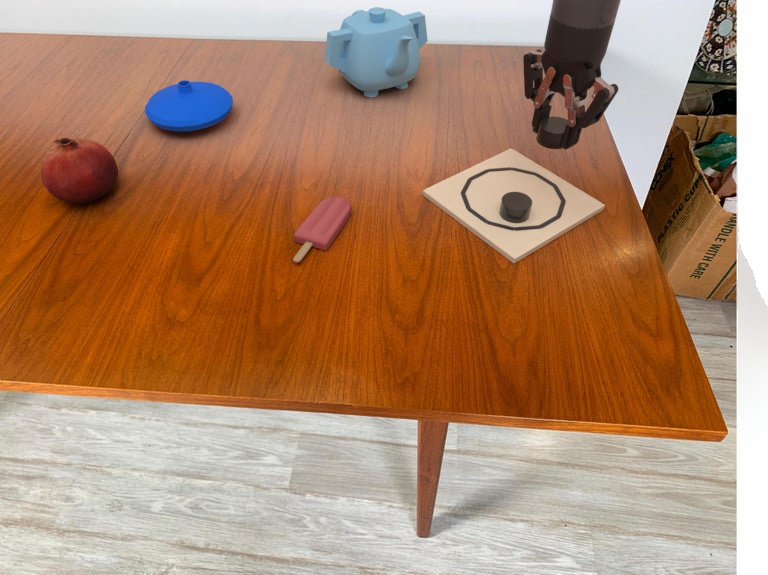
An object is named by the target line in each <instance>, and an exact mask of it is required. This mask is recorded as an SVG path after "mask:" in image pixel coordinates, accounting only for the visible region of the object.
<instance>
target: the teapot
mask: <svg viewBox="0 0 768 575" xmlns="http://www.w3.org/2000/svg"><path fill="white" fill-rule="evenodd" d="M428 42H429V41H428V32H427V22H426V15H425V14H423V13H422V12H421V11H416V12H411V13H407V14H404V15H402V14H401V13H400V12H398V11H396V10H394V9H392V8H384V7H379V6H376V7H371V8H369V9H368V11H367V10H366V11H365V10H362V9H357V10H356V11H354V12H353V13H352V14H351V15H349V16H347V17H344V18H343V19H342V23H341V26H340V28H339V29H337V30H335V29H334V30H330V31H327V32H326V44H325V54H324V55H325V56H324V62H326V64H327V65H328V66H330V67H332V68H334V69H336V70H338V71H339V73H340V74H341V76H342V77H343V78H344V79H345V80H346V82H348V83H349V84H350V85H352V86H353V87H354V88H356V89H358V90H360V91H362V92H363V96H364V97H367V98H377V97H378V96H379V91H381V90H385V89H390V88H394V87H395V88H396V89H398V90H405V89H407V88H408V87H409V84H408V82H410V81H412V80H413V79H415V78H416V76H417V75H418V73H419V70H420V68H421V54H420V50H421V49H422V48H423V47H424V46H425V45H426V44H427V43H428Z"/></svg>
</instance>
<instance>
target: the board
mask: <svg viewBox="0 0 768 575" xmlns="http://www.w3.org/2000/svg"><path fill="white" fill-rule="evenodd" d="M509 192H521V193H524V194H526V195H528V196H529V197H530V198H531V200H532V207H531V211H530V216H529V218H528V220H526V221H525V222H522V223H511V222H508V221H505V220H504V219H503V218H502V217H501V216H500V214H499V211H500V205H501V200H502V197H503V195H505V194H506V193H509ZM422 196H423V197H424V198H425V199H427V200H428V201H429V202H431V203H432V204H434V205H435V206H436V207H437V208H439V209H440V210H441V211H442V212H444V213H445V214H447V215H448V216H450V218H452V219H454V221H456V222H457V223H459V224H460V225H461V226H463V227H464V228H466V229H467V230H468V231H469V232H471V233H472V234H473V235H475V236H476V237H477V238H479V239H480V240H481V241H483V242H484V243H485V244H487V245H488V246H490V247H491V248H492V249H493V250H495V251H496V252H497V253H498V254H500V255H502V256H503V257H504V258H505V259H507V260H508V261H509V262H511V263H512V264H516V263H518V262H519V261H521V260H523V259H524V258H527V257H528V256H529V255H531V254H533V253H535V252H536V251H538V250H539V249H541V248H543V247H545V246H546V245H548V244H549V243H551V242H553V241H555V240H556V239H558V238H559V237H561V236H563V235H564V234H566V233H568V232H570V231H571V230H573V229H574V228H576V227H577V226H580V225H581V224H583V223H584V222H586V221H588V220H589V219H591V218H593V217H595V216H597V215H599V213H601V212H603V211H604V210H605V207H606V204H604V203H603V202H601V201H599V200H598V199H596V198H595V197H593V196H591V195H589V194H588V193H586V192H585V191H584V190H582V189H580V188H578V187H576V186H575V185H573V184H571V182H569V181H566V180H565V179H563V178H561V177H560V176H558V175H556V174H555V173H553V172H552V171H550V170H548V169H547V168H545V167H543V166H542V165H540V164H538V163H536V162H535V161H533V160H532V159H530V158H528V157H527V156H525V155H523V154H522V153H520V152H518V150H515V149H513V148H512V147H510V148H508V149H506V150H504V151H502V152H499V153H498V154H496V155H494V156H491V157H489V158H487V159H485V160H483V161H481V162H479V163H476V164H474V165H472V166H470V167H468V168H466V169H464V170H462V171H460V172H458V173H456V174H453V175H452V176H450V177H448V178H445V179H444V180H441V181H439V182H437V183H434V184H433V185H430V186H429V187H427V188H424V189H423V190H422Z"/></svg>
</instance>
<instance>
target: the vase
mask: <svg viewBox="0 0 768 575" xmlns="http://www.w3.org/2000/svg"><path fill="white" fill-rule="evenodd" d="M233 104H234V100H233V96H232V94H231V93H230V92H229V91H228V90H227V89H225V87H223V86H221V85H219V84H216V83H213V82H207V81H190V80H187V79H183V80H179V81H178V82H177V83H176V84H172V85H168V86H166V87H164V88H161V89H160V90H158V91H156V92H155V93H153V94H152V95H151V96H150V97H149V99H148V101H147V102H146V104H145V107H144V114H145V115H146V117H147V118H148V120H149V121H150V122H151V124H152V125H154V126H155V127H156V128H160V129H162V130H165V131H171V132H194V131H199V130H203V129H207V128H209V127H212V126H214V125H216V124H219V123H221V122H222V121H223V120H225V119H226V118H227V117H228V116H229V115H230V113H231V111H232V109H233Z"/></svg>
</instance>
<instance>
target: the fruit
mask: <svg viewBox="0 0 768 575" xmlns="http://www.w3.org/2000/svg"><path fill="white" fill-rule="evenodd" d="M53 143H54V145H52V146H51V147H50V149H49V150H48V151H47V153H46V154H45V155H44V156H43V157H42V158H43V159H42V161H41V165H40V176H41V183H42V185H43V186H44V188H45V189H46V190H47V191H48V193H49V194H50V195H51V196H53V197H54V198H56V199H58V200H60V201H61V200H62V201H65V202H67V203H70V204H71V203H72V204H87V203H90V202H92V201H95V200H98V199H99V198H101V197H103V196H104V195H105V194H107V193H108V192H109V191H111V190H113V188H114V187H115V185H116V182H117V180H118V177H119V167H118V164H117V161H116V159H115V158H114V156H113V154H112V153H111V151H109V149H108V148H106V147H105V146H103V144H101V143H99V142H97V141H95V140H92V139H88V138H74V139H73V138H69V137H61V138H60V139H59V138H58V139H55V140H53Z"/></svg>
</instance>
